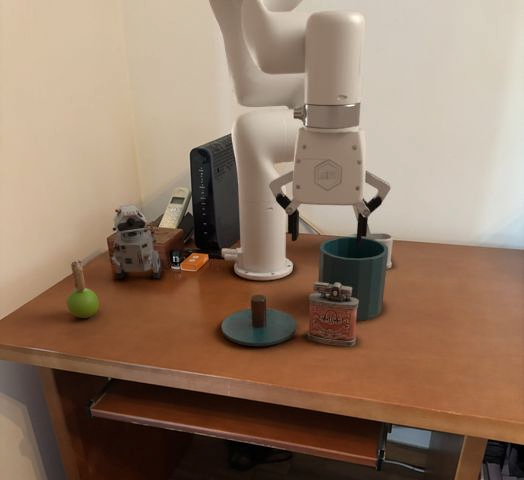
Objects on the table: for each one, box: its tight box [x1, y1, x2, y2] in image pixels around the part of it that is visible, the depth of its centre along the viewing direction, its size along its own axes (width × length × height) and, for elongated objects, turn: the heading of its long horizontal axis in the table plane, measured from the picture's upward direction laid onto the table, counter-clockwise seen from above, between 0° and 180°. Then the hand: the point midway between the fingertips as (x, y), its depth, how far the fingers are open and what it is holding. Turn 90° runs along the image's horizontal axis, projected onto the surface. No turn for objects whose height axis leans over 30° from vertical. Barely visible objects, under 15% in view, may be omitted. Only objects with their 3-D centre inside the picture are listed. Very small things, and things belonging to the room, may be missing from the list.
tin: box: [317, 236, 388, 322], centre depth 99 cm, size 12×12×12 cm
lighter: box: [307, 281, 359, 347], centre depth 89 cm, size 8×3×10 cm, turn 71°
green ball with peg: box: [66, 259, 100, 319], centre depth 97 cm, size 5×6×12 cm
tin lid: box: [221, 294, 297, 347], centre depth 93 cm, size 13×13×6 cm
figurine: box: [111, 204, 163, 280], centre depth 111 cm, size 9×12×15 cm
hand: (326, 239), depth 83 cm, fingers open, 9 cm apart
